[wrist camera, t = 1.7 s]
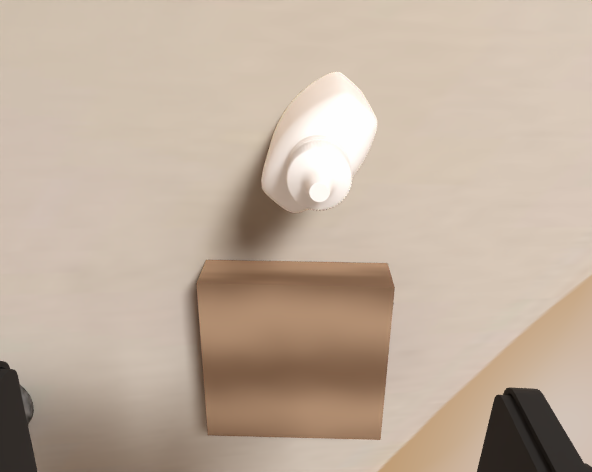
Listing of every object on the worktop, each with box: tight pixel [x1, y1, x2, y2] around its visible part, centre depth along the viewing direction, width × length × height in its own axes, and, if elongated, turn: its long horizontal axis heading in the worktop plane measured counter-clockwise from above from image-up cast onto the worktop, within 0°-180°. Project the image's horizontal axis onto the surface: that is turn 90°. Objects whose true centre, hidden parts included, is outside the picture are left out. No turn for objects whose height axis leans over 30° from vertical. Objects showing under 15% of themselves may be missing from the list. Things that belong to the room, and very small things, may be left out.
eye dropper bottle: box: [261, 72, 377, 213], centre depth 23 cm, size 4×6×12 cm
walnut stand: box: [196, 260, 395, 440], centre depth 33 cm, size 11×11×3 cm
